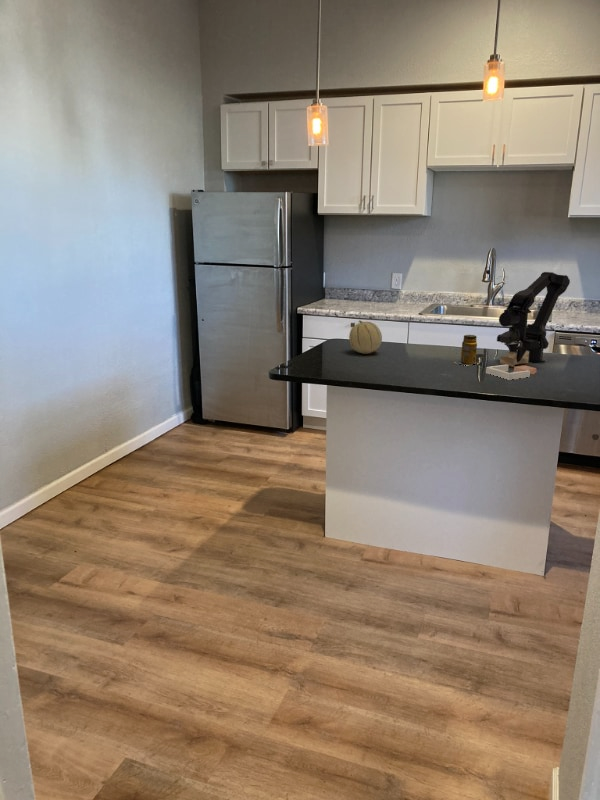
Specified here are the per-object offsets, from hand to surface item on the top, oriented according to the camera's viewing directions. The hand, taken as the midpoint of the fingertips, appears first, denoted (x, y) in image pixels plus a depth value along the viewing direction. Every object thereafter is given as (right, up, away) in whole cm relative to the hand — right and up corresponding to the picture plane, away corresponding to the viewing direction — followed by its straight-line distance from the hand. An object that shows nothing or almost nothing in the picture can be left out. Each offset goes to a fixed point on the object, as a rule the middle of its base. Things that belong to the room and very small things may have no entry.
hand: (515, 361), depth 256 cm
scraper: (+1, -1, +1) cm, 1 cm away
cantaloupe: (-61, +5, +22) cm, 65 cm away
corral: (-9, -7, -17) cm, 20 cm away
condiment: (-20, -1, +3) cm, 20 cm away
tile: (-1, -6, -13) cm, 14 cm away
